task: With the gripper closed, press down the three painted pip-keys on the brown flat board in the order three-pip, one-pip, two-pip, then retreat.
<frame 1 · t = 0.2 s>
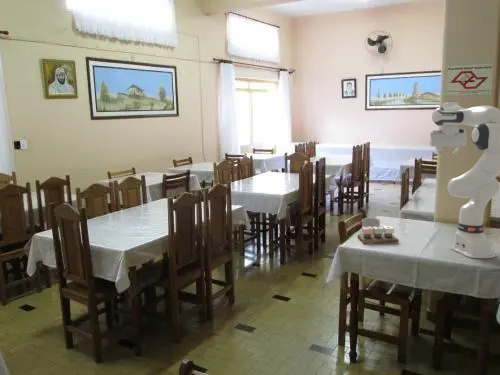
hand: (447, 154, 256), 48 cm above the table, fingers open, 8 cm apart
key three: (367, 231, 251), point 5 cm above the table, slide at 0.0 cm
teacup: (370, 231, 270), on the table
key two: (377, 231, 252), point 5 cm above the table, slide at 0.0 cm
brown flat board: (377, 240, 252), on the table
key one: (388, 231, 252), point 5 cm above the table, slide at 0.0 cm
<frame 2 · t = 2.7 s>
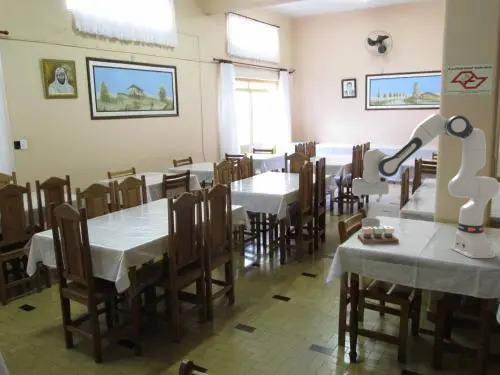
hand: (369, 201, 249), 22 cm above the table, fingers open, 8 cm apart
nothing on the table moved.
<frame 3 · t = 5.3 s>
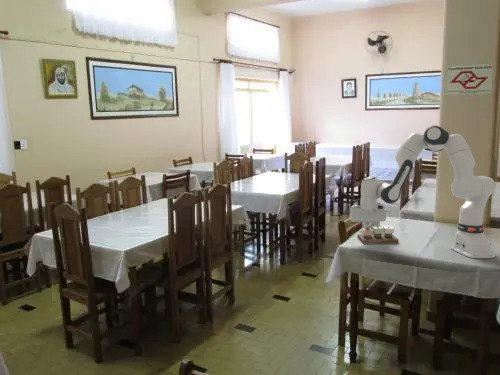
hand: (367, 228, 252), 7 cm above the table, fingers closed, pressing on key three
key three: (367, 233, 252), point 4 cm above the table, slide at 1.0 cm, touching gripper
everything else where it was.
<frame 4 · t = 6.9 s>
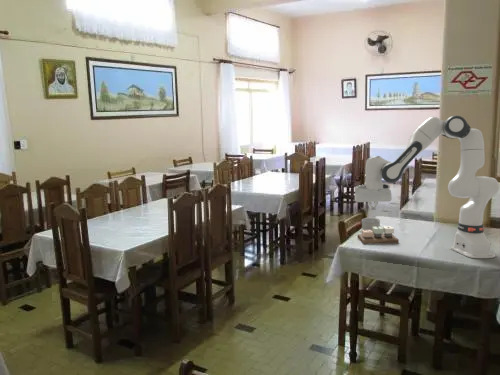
hand: (372, 209, 248), 18 cm above the table, fingers closed
key three: (367, 234, 252), point 3 cm above the table, slide at 1.8 cm
everything else where it was.
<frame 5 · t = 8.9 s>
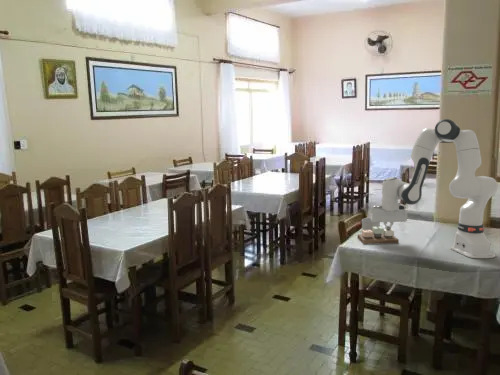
hand: (388, 229, 252), 6 cm above the table, fingers closed, pressing on key one
key one: (388, 233, 252), point 4 cm above the table, slide at 1.5 cm, touching gripper
everything else where it was.
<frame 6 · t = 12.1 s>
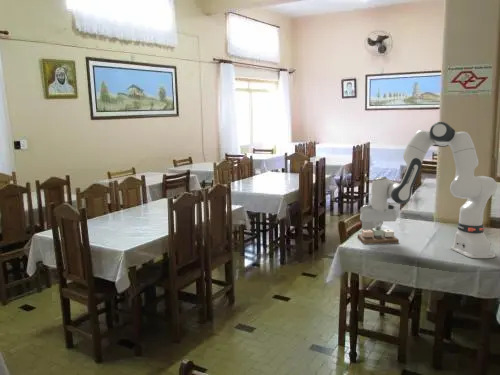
hand: (377, 228, 252), 7 cm above the table, fingers closed, pressing on key two
key two: (377, 233, 252), point 4 cm above the table, slide at 1.1 cm, touching gripper
key one: (388, 234, 252), point 3 cm above the table, slide at 1.9 cm
everything else where it was.
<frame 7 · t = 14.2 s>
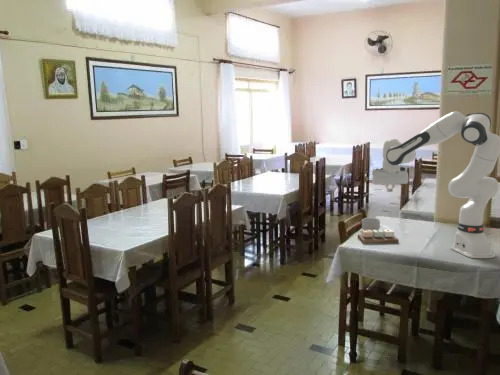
hand: (389, 191, 253), 27 cm above the table, fingers closed
key two: (377, 234, 252), point 3 cm above the table, slide at 1.9 cm
everything else where it was.
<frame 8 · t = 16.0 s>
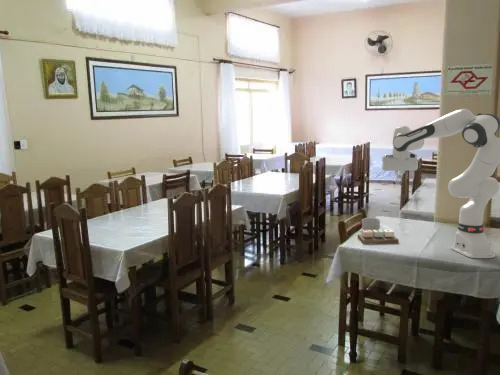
hand: (399, 178, 258), 34 cm above the table, fingers closed
nothing on the table moved.
at the end: key three slide at 1.8 cm; key one slide at 1.9 cm; key two slide at 1.9 cm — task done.
